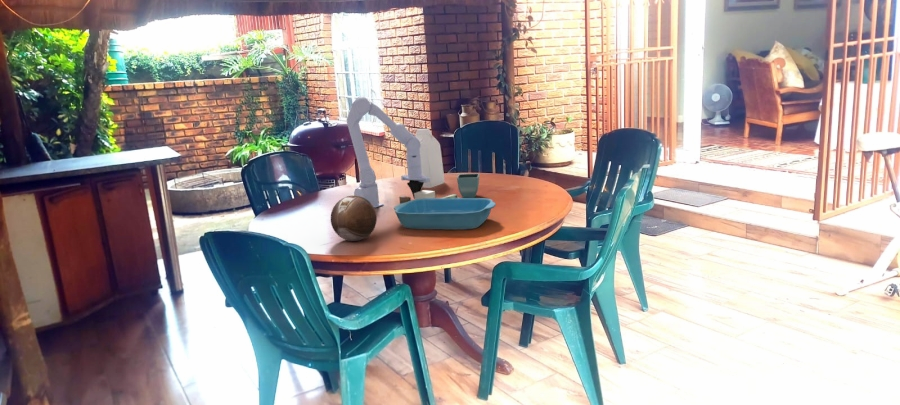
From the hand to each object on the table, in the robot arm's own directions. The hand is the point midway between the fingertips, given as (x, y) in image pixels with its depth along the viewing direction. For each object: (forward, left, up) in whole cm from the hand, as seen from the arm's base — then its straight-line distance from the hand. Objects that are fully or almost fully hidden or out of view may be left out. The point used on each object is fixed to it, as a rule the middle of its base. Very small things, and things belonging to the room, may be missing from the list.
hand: (416, 198), depth 262 cm
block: (0, -5, -1) cm, 5 cm away
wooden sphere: (-51, -22, -2) cm, 56 cm away
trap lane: (0, -6, -1) cm, 6 cm away
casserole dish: (-20, -34, -2) cm, 40 cm away
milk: (+29, +22, -2) cm, 36 cm away
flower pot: (+17, -14, -2) cm, 22 cm away
